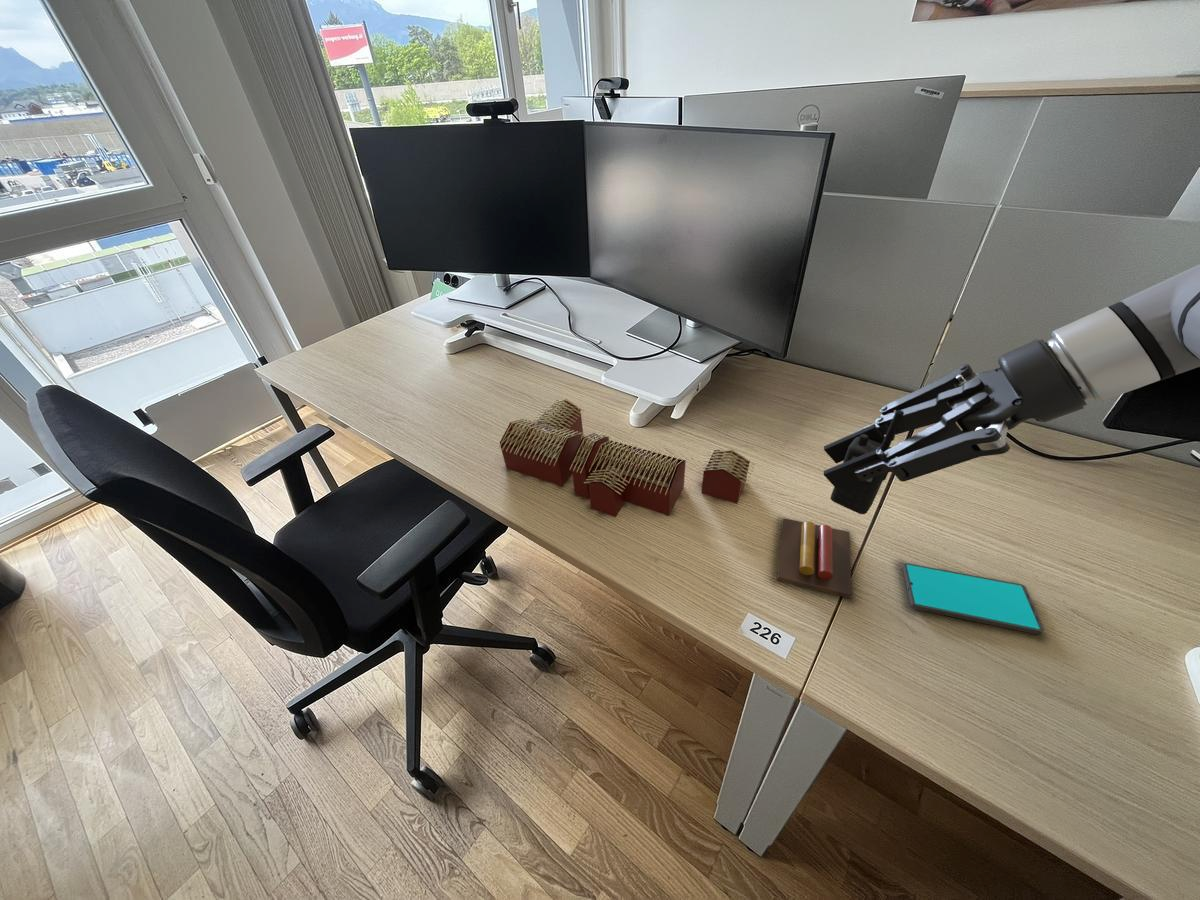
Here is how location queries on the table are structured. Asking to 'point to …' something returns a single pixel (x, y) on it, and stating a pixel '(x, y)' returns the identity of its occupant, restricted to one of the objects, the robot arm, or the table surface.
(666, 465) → the toy houses
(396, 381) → the table surface
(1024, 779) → the table surface
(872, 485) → the walkie-talkie
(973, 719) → the table surface
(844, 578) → the rod rack
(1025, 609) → the smartphone
